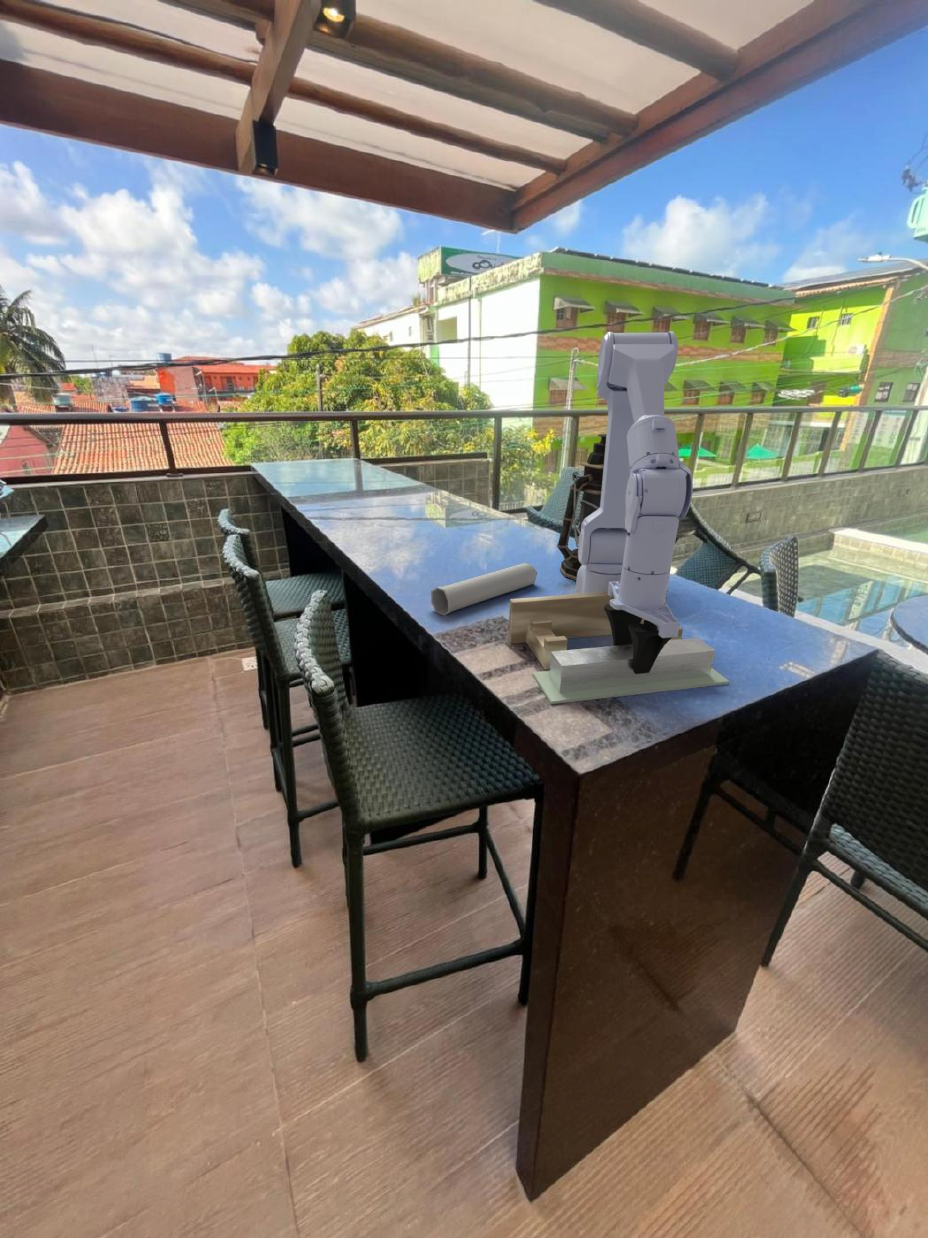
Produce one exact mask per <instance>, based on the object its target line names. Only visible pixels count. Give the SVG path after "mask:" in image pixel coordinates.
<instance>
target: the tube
mask: <svg viewBox="0 0 928 1238" xmlns="http://www.w3.org/2000/svg"><path fill="white" fill-rule="evenodd" d="M537 575H538V571H537V570H536V568H535V567H534V565H532V564H529V563H526V562H523V563H520V564H517V565H513V566H509V567H507V568H502V569H499V570H496V571H492V572H488V573H485V574H482V575H479V576H475V577H471V578H468V579H464V580H461V581H458V582H455V583H452V584H451V583H450V584H447V585H444V586H436V587H435V588H434V589H432V590H431V591H430V602H431V605H432V607H433V609H434V612H435V613H437V614H439V615H442V616H446V615H448V614H450V613H452V612H455V611H459V610H461V609H464V608H468V607H470V606H472V605H475V604H478V603H481V602H485V601H488V600H490V599H493V598H497V597H499V596H502V595H505V594H508V593H511V592H514V591H517V590H520V589H523V588H526V587H529V586H531V585H533V584H535V583H536V580H537Z"/></svg>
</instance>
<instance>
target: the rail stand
mask: <svg viewBox="0 0 928 1238" xmlns="http://www.w3.org/2000/svg"><path fill="white" fill-rule="evenodd" d="M607 593H608V592H599V593H585V594H574V593H573V594H572V593H571V594H561V595H560V594H558V595H549V596H548V595H547V596H535V597H534V596H533V597H522V598H521V597H520V598H510V599H509V613H508V615H509V618H508V641H509V643H510V642H511V643H513V644H523V643H526V644H527V645H528V647H529V649H530V650H531V652H532V653H533V654H534V655H535V657H536V659H537V660H538V662H539V663H540V664H541V666H542V667H543V669H544V671H548V670H550V660H551V652H554V651H565V650H568V639H578V638H586V637H598V636H611V635H612V630H611V625H610V622H609V619H608V616H607V614H606V612H605V609H604V606H605V605H606V604H610V600H612V599H615V598H614V597H610V596H609V595H608V594H607ZM667 597H668V592H667V593H666V598H665V602H666V603H667ZM640 623H643V624H644V619H643V618H642V620H641V622H640ZM683 631H684V629H683V627H681V626H679V632H678V637H672V638H671V639H670V640H680V639H682V637H683ZM511 643H510V644H511Z"/></svg>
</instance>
